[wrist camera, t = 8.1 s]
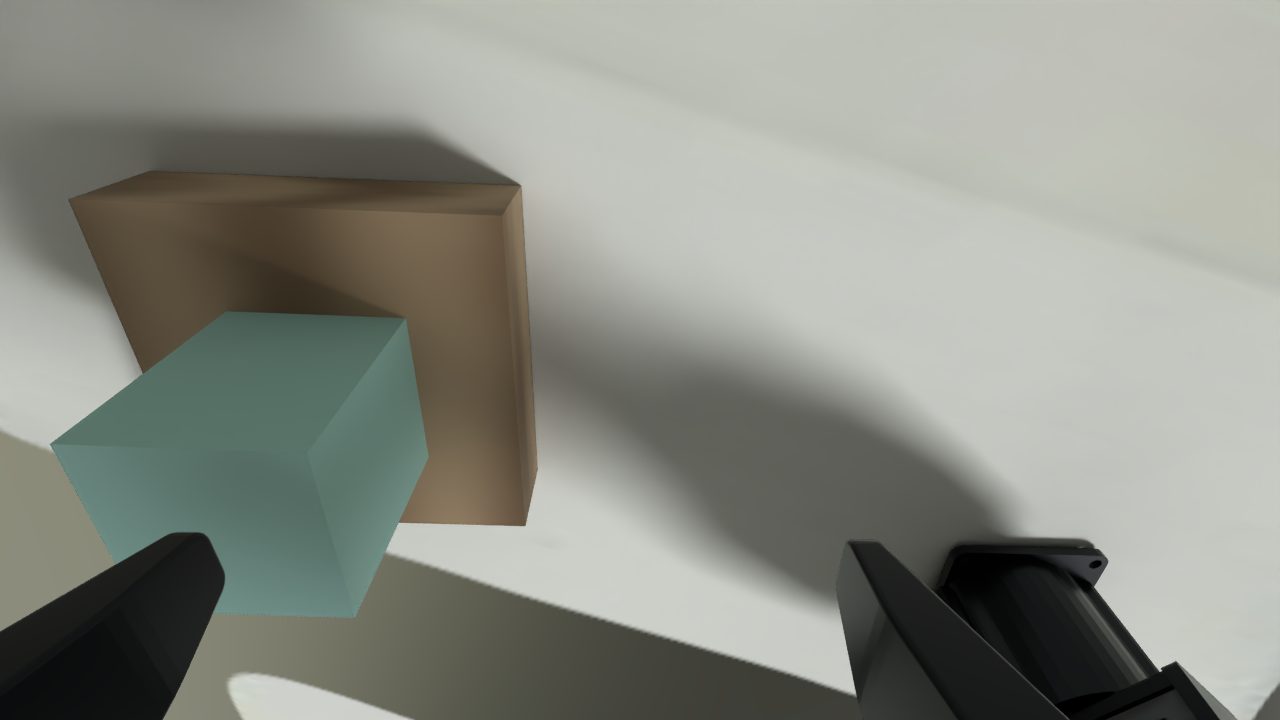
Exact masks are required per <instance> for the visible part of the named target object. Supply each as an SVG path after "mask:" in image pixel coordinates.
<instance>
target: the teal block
mask: <svg viewBox="0 0 1280 720" xmlns="http://www.w3.org/2000/svg"><path fill="white" fill-rule="evenodd" d="M50 445H51V447H52V449H53V451H54V452H55V454H56V456H57V458H58V460H59V461H60V463H61V465H62V467H63V469H64V471H65V472H66V474H67V476H68V478H69V480H70V482H71V483H72V485H73V487H74V489H75V491H76V493H77V494H78V496H79V498H80V500H81V502H82V503H83V505H84V507H85V509H86V511H87V513H88V514H89V516H90V518H91V520H92V522H93V524H94V525H95V527H96V529H97V531H98V533H99V534H100V536H101V538H102V540H103V542H104V543H105V545H106V547H107V549H108V551H109V553H110V555H111V556H112V558H113V560H114V562H115V564H117V563H119V562H121V561H123V560H124V559H126V558H128V557H129V556H131V555H133V554H135V553H136V552H138V551H140V550H142V549H143V548H145V547H147V546H148V545H150V544H152V543H154V542H155V541H157V540H159V539H160V538H162V537H164V536H166V535H168V534H170V533H174V532H200V533H204V534H205V535H206V536H208V538H209V539H210V541H211V543H212V545H213V547H214V550H215V552H216V554H217V556H218V558H219V560H220V562H221V565H222V567H223V569H224V572H225V585H224V589H223V592H222V594H221V596H220V598H219V601H218V603H217V605H216V607H215V610H214V612H213V614H243V615H278V616H279V615H280V616H314V617H315V616H316V617H351V618H355V616H356V614H357V612H358V610H359V607H360V605H361V603H362V601H363V599H364V597H365V594H366V592H367V590H368V588H369V586H370V584H371V581H372V579H373V577H374V575H375V572H376V570H377V568H378V566H379V564H380V562H381V560H382V557H383V555H384V553H385V551H386V549H387V547H388V544H389V542H390V540H391V538H392V536H393V534H394V531H395V529H396V527H397V525H398V523H399V521H400V518H401V516H402V514H403V512H404V510H405V508H406V505H407V503H408V501H409V499H410V497H411V495H412V492H413V490H414V488H415V486H416V484H417V481H418V479H419V477H420V475H421V473H422V471H423V468H424V466H425V464H426V462H427V460H428V458H429V456H428V450H427V444H426V438H425V432H424V425H423V419H422V413H421V407H420V401H419V395H418V389H417V383H416V376H415V370H414V364H413V358H412V352H411V346H410V340H409V334H408V328H407V321H406V318H388V317H362V316H336V315H310V314H284V313H258V312H232V311H226V312H225V313H223V314H222V315H221V316H219V317H218V318H217V319H215V320H214V321H213V322H211V323H210V324H209V325H207V326H206V327H205V328H203V329H202V330H201V331H199V332H198V333H197V334H195V335H194V336H193V337H191V338H190V339H189V340H187V341H186V342H185V343H183V344H182V345H181V346H180V347H178V348H177V349H176V350H174V351H173V352H172V353H170V354H169V355H168V356H166V357H165V358H164V359H162V360H161V361H160V362H158V363H157V364H156V365H154V366H153V367H152V368H150V369H149V370H148V371H146V372H145V373H144V374H142V375H141V376H140V377H138V378H137V379H136V380H134V381H133V382H132V383H130V384H129V385H128V386H126V387H125V388H124V389H122V390H121V391H120V392H119V393H117V394H116V395H115V396H113V397H112V398H111V399H109V400H108V401H107V402H105V403H104V404H103V405H101V406H100V407H99V408H97V409H96V410H95V411H93V412H92V413H91V414H89V415H88V416H87V417H85V418H84V419H83V420H81V421H80V422H79V423H77V424H76V425H75V426H73V427H72V428H71V429H69V430H68V431H67V432H65V433H64V434H63V435H61V436H60V437H59V438H58V439H56V440H55V441H54V442H52V443H51V444H50Z"/></svg>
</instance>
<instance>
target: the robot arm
mask: <svg viewBox="0 0 1280 720" xmlns="http://www.w3.org/2000/svg"><path fill="white" fill-rule="evenodd" d="M1107 564H1108V559H1107V558H1106V557H1105V555H1104V554H1103V553H1102V552H1101V551H1100V550H1099V549H1089V548H1053V547H1016V546H979V545H962V546H958V547H956V548H954V549H953V550H952V551H951V552H950V554H949V556H948V559H947V561H946V564H945V566H944V569H943V571H942V573H941V576H940V578H939V581H938V583H937V586H936V588H935V590H934V592H933V591H932V590H931V589H930V588H928V587H927V586H926V585H925V584H924V583H923V582H922V581H921V580H920V579H919V578H918V577H917V576H916V575H915V574H914V573H912V572H911V571H910V570H909V569H908V568H907V567H906V566H905V565H904V564H903V563H902V562H901V561H900V560H899V559H898V558H896V557H895V556H894V555H893V554H892V553H891V552H890V551H889V550H888V549H887V548H886V547H885V546H884V545H883V544H881V543H880V542H878V541H876V540H860V539H852V540H849V541H847V543H846V544H845V547H844V551H843V555H842V559H841V563H840V568H839V572H838V576H837V582H836V591H837V599H838V604H839V609H840V614H841V619H842V624H843V629H844V634H845V640H846V645H847V650H848V655H849V660H850V665H851V670H852V675H853V680H854V686H855V690H856V695H857V700H858V704H859V708H860V712H861V715H862V719H863V720H1237V719H1236V718H1235V717H1234V715H1233V714H1232V713H1231V712H1230V711H1229V710H1228V709H1227V708H1226V707H1224V706H1223V705H1222V704H1221V703H1220V702H1219V701H1218V700H1217V699H1216V698H1215V697H1214V696H1213V695H1212V694H1211V693H1210V692H1208V691H1207V690H1206V689H1205V688H1204V687H1203V686H1202V685H1201V684H1200V683H1199V682H1198V681H1197V680H1196V679H1195V678H1194V677H1193V676H1191V675H1190V674H1189V673H1188V672H1187V671H1186V670H1185V669H1184V668H1183V667H1182V666H1181V665H1180V664H1179V663H1178V662H1176V661H1175V662H1173V663H1171V664H1169V665H1166V666H1164V667H1162V668H1161V670H1162V671H1161V672H1159V671H1158V669H1157V668H1156V667H1155V665H1154V664H1153V663H1152V661H1151V660H1150V659H1149V658H1148V656H1147V655H1146V654H1145V652H1144V651H1143V650H1142V649H1141V647H1140V646H1139V645H1138V643H1137V642H1136V641H1135V639H1134V638H1133V637H1132V636H1131V634H1130V633H1129V632H1128V630H1127V629H1126V628H1125V627H1124V625H1123V624H1122V623H1121V621H1120V620H1119V619H1118V618H1117V616H1116V615H1115V614H1114V612H1113V611H1112V610H1111V608H1110V607H1109V606H1108V605H1107V603H1106V602H1105V601H1104V599H1103V598H1102V597H1101V596H1100V594H1099V593H1098V592H1097V590H1096V589H1095V588H1094V586H1095V584H1096V583H1097V581H1098V579H1099V578H1100V576H1101V574H1102V573H1103V571H1104V569H1105V568H1106V566H1107ZM224 585H225V572H224V569H223V567H222V565H221V562H220V560H219V558H218V556H217V554H216V552H215V550H214V547H213V545H212V543H211V541H210V539H209V538H208V536H206V535H205V534H204V533H200V532H174V533H170V534H168V535H166V536H164V537H162V538H160V539H159V540H157V541H155V542H154V543H152V544H150V545H148V546H147V547H145V548H143V549H142V550H140V551H138V552H136V553H135V554H133V555H131V556H129V557H128V558H126V559H124V560H123V561H121V562H119V563H117V564H116V565H114V566H112V567H111V568H109V569H107V570H105V571H104V572H102V573H100V574H98V575H97V576H95V577H93V578H91V579H90V580H88V581H86V582H85V583H83V584H81V585H80V586H78V587H76V588H74V589H73V590H71V591H69V592H67V593H66V594H64V595H62V596H60V597H59V598H57V599H55V600H54V601H52V602H50V603H48V604H47V605H45V606H43V607H42V608H40V609H38V610H36V611H35V612H33V613H31V614H29V615H28V616H26V617H24V618H22V619H21V620H19V621H17V622H16V623H14V624H12V625H11V626H9V627H7V628H5V629H4V630H2V631H0V720H163V718H164V716H165V715H166V713H167V711H168V709H169V707H170V705H171V703H172V701H173V700H174V698H175V696H176V693H177V691H178V689H179V687H180V685H181V683H182V681H183V679H184V677H185V675H186V672H187V670H188V668H189V666H190V663H191V661H192V659H193V657H194V654H195V652H196V650H197V647H198V646H199V643H200V641H201V639H202V636H203V634H204V632H205V630H206V628H207V625H208V623H209V621H210V619H211V616H212V614H213V612H214V610H215V607H216V605H217V603H218V601H219V598H220V596H221V594H222V592H223V589H224Z"/></svg>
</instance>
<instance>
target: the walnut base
mask: <svg viewBox="0 0 1280 720" xmlns="http://www.w3.org/2000/svg"><path fill="white" fill-rule="evenodd" d="M68 200H69V202H70V204H71V207H72V209H73V211H74V214H75V216H76V218H77V221H78V223H79V225H80V228H81V230H82V232H83V235H84V237H85V239H86V242H87V244H88V246H89V249H90V251H91V253H92V256H93V258H94V260H95V263H96V265H97V267H98V270H99V272H100V274H101V277H102V279H103V281H104V284H105V286H106V288H107V291H108V293H109V295H110V298H111V300H112V302H113V305H114V307H115V309H116V312H117V314H118V316H119V319H120V321H121V323H122V326H123V328H124V330H125V333H126V335H127V337H128V340H129V342H130V344H131V347H132V349H133V351H134V354H135V356H136V358H137V361H138V363H139V365H140V368H141V370H142V372H143V374H144V373H145V372H146V371H148V370H149V369H150V368H152V367H153V366H154V365H156V364H157V363H158V362H160V361H161V360H162V359H164V358H165V357H166V356H168V355H169V354H170V353H172V352H173V351H174V350H176V349H177V348H178V347H180V346H181V345H182V344H183V343H185V342H186V341H187V340H189V339H190V338H191V337H193V336H194V335H195V334H197V333H198V332H199V331H201V330H202V329H203V328H205V327H206V326H207V325H209V324H210V323H211V322H213V321H214V320H215V319H217V318H218V317H219V316H221V315H222V314H223V313H225V312H226V311H232V312H258V313H284V314H310V315H336V316H362V317H388V318H406V321H407V328H408V334H409V340H410V346H411V352H412V358H413V364H414V370H415V376H416V383H417V389H418V395H419V401H420V407H421V413H422V419H423V425H424V432H425V438H426V444H427V450H428V456H429V458H428V460H427V462H426V464H425V466H424V468H423V471H422V473H421V475H420V477H419V479H418V481H417V484H416V486H415V488H414V490H413V492H412V495H411V497H410V499H409V501H408V503H407V505H406V508H405V510H404V512H403V514H402V516H401V518H400V521H399V523H432V524H468V525H504V526H525V525H526V521H527V516H528V511H529V507H530V502H531V497H532V493H533V488H534V484H535V479H536V474H537V470H538V468H537V451H536V433H535V416H534V399H533V381H532V364H531V347H530V329H529V312H528V295H527V277H526V260H525V243H524V225H523V208H522V190H521V186H518V185H492V184H466V183H440V182H414V181H389V180H363V179H337V178H311V177H285V176H259V175H233V174H207V173H181V172H155V171H148V172H146V173H143V174H140V175H137V176H134V177H131V178H128V179H126V180H123V181H120V182H117V183H114V184H111V185H108V186H106V187H103V188H100V189H97V190H94V191H91V192H88V193H86V194H83V195H80V196H77V197H74V198H71V199H68Z"/></svg>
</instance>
